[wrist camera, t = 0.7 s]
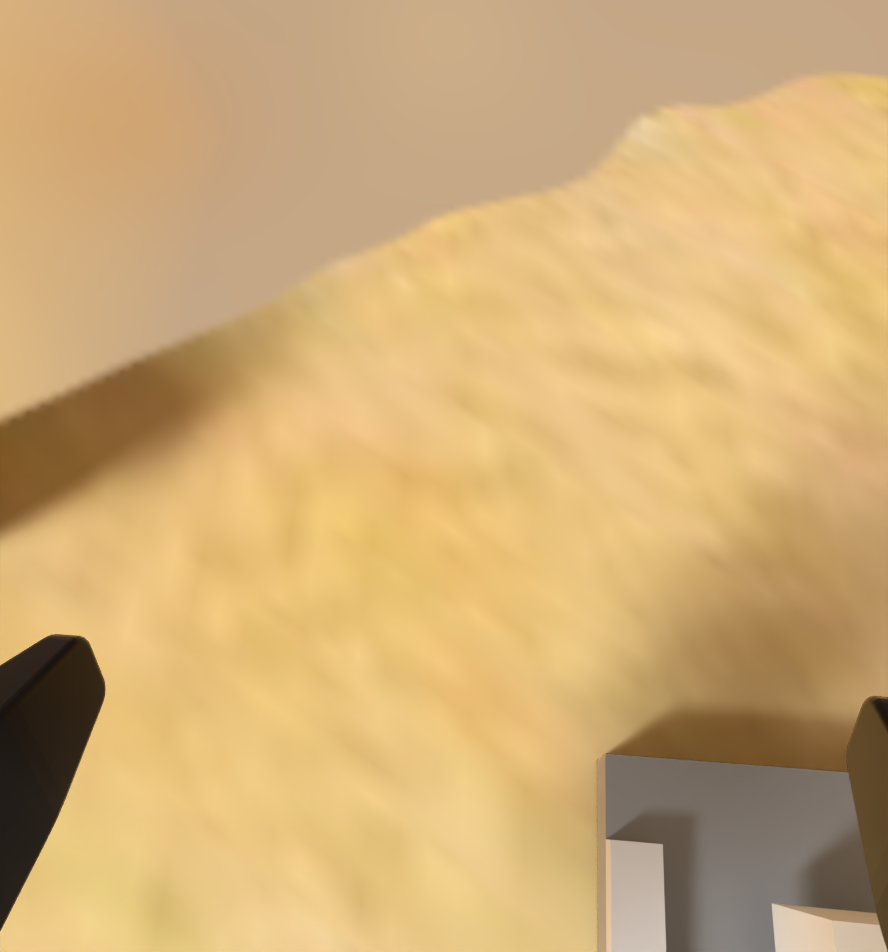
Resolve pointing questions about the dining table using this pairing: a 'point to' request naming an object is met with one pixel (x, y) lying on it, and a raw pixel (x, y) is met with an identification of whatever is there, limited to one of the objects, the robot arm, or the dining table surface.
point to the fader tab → (825, 930)
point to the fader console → (719, 852)
